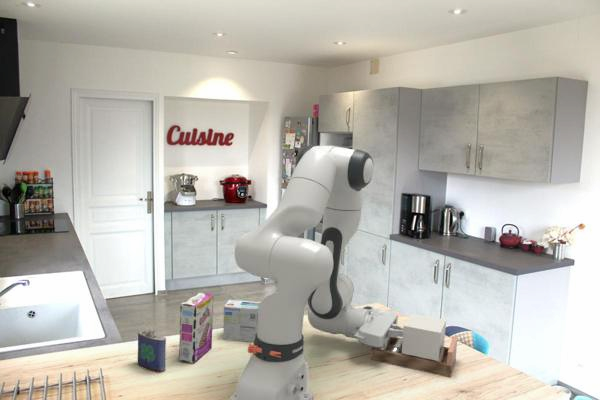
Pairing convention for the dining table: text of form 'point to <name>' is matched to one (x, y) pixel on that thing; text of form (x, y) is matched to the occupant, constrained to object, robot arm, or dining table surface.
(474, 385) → the dining table surface
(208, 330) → the candy bar box
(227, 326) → the light bulb box
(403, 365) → the roller track
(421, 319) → the off-white cardboard box
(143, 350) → the flask
